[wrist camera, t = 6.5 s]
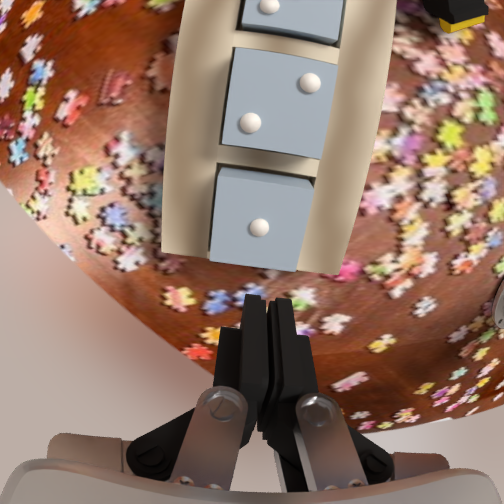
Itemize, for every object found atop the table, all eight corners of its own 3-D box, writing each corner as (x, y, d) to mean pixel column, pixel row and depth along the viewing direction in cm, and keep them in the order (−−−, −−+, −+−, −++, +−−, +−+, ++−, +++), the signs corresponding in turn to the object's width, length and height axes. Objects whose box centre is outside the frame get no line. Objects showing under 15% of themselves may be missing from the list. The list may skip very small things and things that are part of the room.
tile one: (308, 179, 21) (315, 191, 18) (291, 254, 23) (295, 273, 21) (222, 167, 20) (217, 176, 18) (213, 244, 23) (209, 262, 21)
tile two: (328, 69, 17) (339, 65, 14) (313, 152, 20) (321, 159, 17) (238, 53, 17) (235, 46, 14) (225, 138, 19) (221, 144, 17)
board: (380, -7, 16) (398, -19, 12) (329, 254, 27) (338, 275, 24) (206, -39, 15) (199, -57, 12) (172, 233, 26) (161, 252, 23)
